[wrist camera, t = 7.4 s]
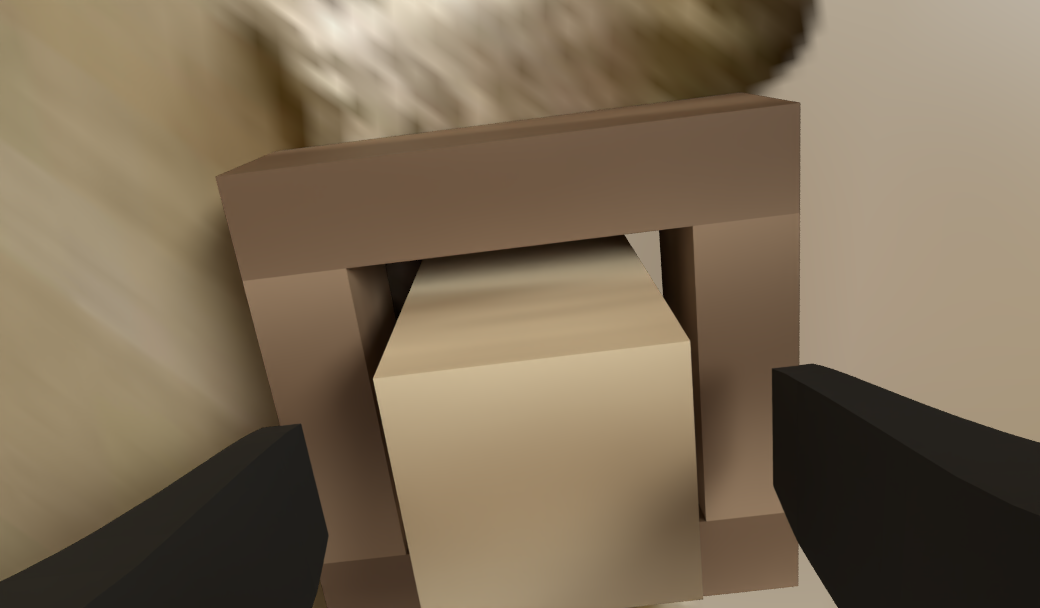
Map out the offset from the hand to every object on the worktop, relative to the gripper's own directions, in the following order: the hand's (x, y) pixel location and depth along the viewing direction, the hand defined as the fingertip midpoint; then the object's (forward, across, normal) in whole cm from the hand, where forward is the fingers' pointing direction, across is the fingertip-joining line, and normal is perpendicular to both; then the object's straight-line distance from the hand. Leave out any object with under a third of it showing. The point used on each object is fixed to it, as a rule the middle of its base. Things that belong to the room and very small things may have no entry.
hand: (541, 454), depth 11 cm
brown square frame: (+5, 0, 0) cm, 5 cm away
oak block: (+5, 0, 0) cm, 5 cm away
